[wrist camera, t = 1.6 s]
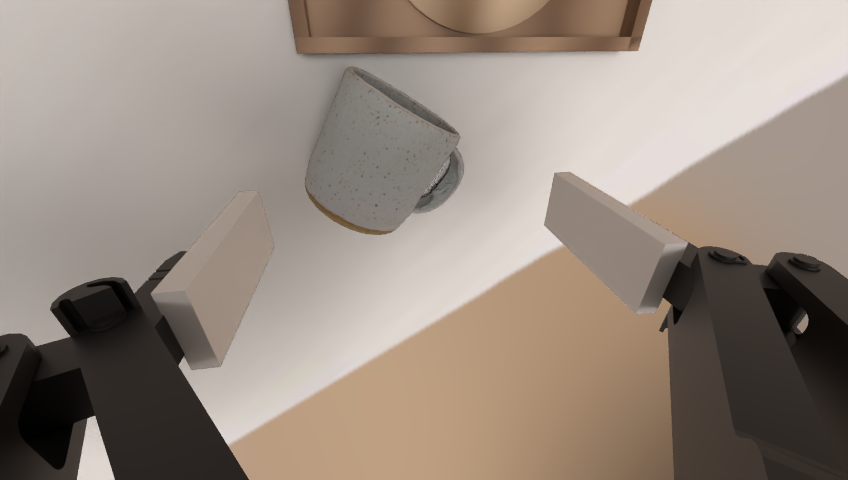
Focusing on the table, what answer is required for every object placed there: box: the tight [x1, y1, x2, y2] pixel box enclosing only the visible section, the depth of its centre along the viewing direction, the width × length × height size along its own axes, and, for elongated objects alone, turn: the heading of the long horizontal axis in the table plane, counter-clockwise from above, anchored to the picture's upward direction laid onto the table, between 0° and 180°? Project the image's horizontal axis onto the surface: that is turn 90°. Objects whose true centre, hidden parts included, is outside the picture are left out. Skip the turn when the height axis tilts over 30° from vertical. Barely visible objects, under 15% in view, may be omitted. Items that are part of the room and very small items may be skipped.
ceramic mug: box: [305, 67, 464, 235], centre depth 22 cm, size 11×8×8 cm
